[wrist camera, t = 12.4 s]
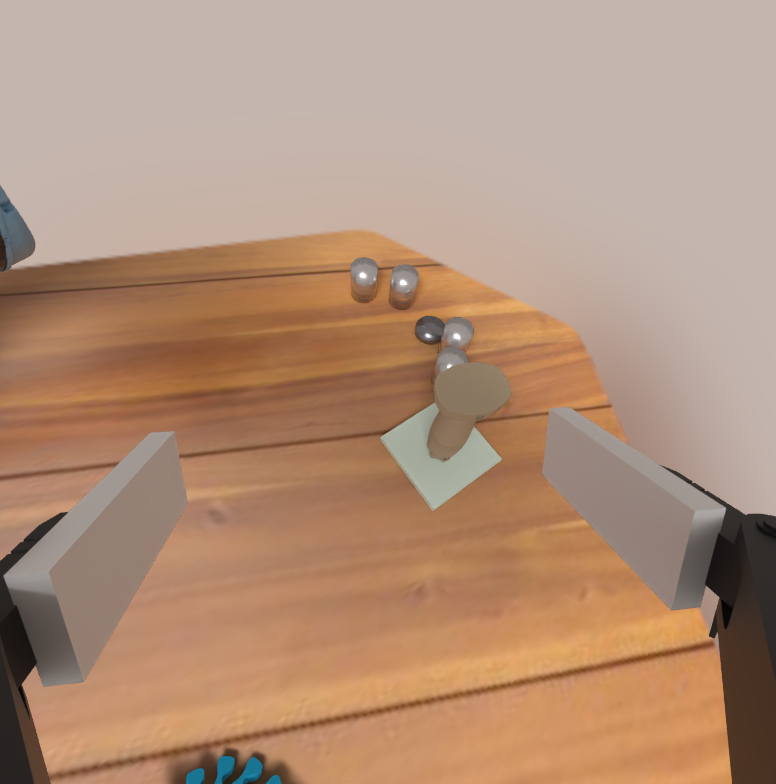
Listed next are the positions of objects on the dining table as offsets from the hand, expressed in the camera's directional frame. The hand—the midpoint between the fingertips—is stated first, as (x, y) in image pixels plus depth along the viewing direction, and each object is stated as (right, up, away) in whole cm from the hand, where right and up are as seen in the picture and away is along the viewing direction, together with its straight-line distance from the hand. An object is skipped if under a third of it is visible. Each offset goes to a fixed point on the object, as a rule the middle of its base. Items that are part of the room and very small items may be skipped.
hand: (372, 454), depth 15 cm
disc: (+6, +10, +43) cm, 44 cm away
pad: (+7, -5, +35) cm, 36 cm away
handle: (+7, -5, +34) cm, 35 cm away
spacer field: (+4, +10, +42) cm, 44 cm away
